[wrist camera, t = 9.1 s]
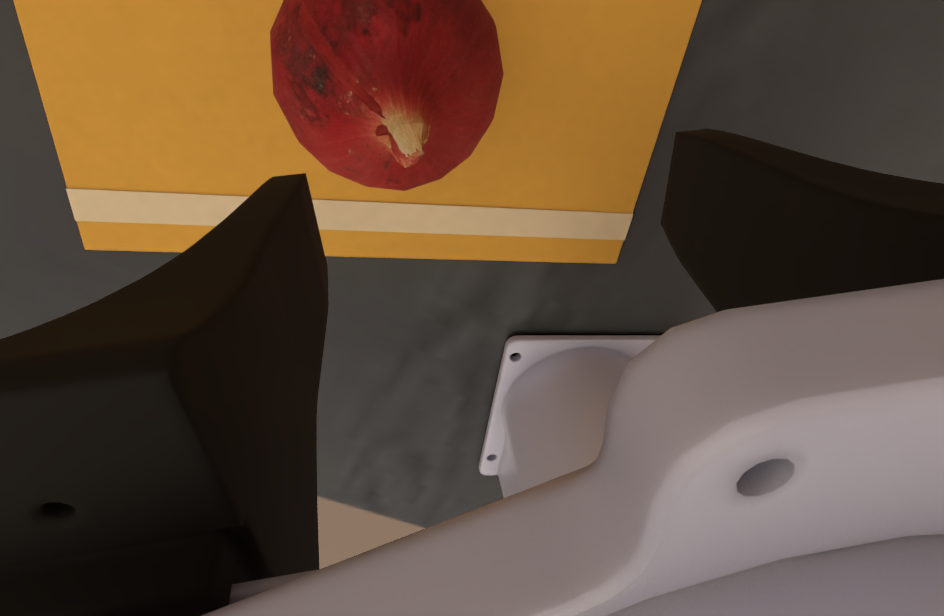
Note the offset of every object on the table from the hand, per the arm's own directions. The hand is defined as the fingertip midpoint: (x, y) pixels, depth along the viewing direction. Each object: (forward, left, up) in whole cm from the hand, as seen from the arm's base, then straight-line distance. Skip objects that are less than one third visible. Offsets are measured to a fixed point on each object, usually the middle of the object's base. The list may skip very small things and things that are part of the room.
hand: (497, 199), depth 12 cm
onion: (+1, +2, -10) cm, 10 cm away
